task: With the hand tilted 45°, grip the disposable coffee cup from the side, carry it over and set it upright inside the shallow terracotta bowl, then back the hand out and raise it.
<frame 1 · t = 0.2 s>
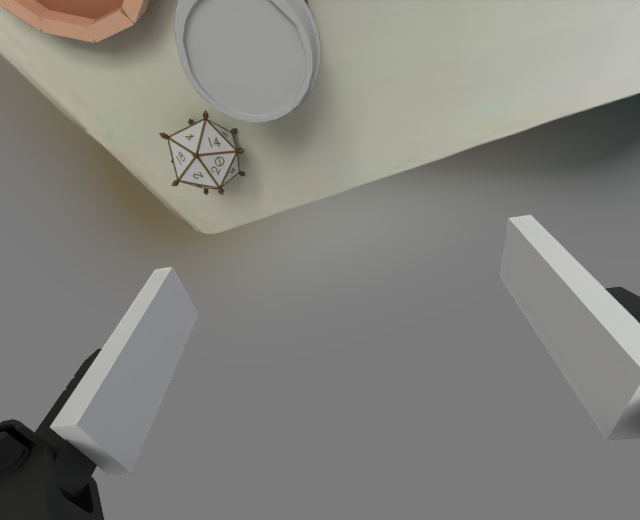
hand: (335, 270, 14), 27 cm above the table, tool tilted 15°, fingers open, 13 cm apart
game die: (214, 134, 40), on the table
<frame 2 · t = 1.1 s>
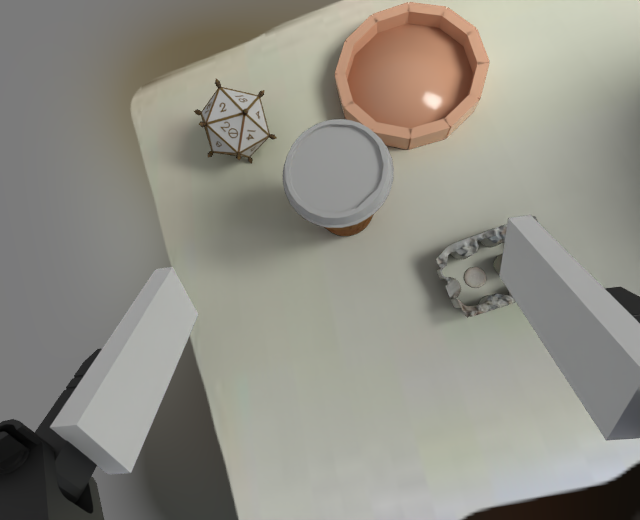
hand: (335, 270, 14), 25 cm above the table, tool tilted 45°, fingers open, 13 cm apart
game die: (248, 142, 43), on the table
terracotta bowl: (407, 82, 41), on the table
disposable coffee cup: (346, 210, 40), on the table
egg carton: (487, 270, 37), on the table
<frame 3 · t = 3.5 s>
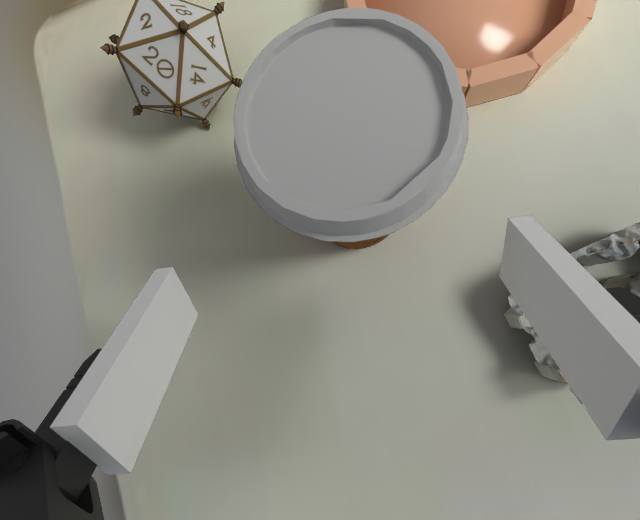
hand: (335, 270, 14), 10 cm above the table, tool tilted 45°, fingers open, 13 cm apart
game die: (205, 97, 28), on the table
terracotta bowl: (458, 3, 26), on the table
disposable coffee cup: (356, 206, 25), on the table
egg carton: (589, 304, 22), on the table
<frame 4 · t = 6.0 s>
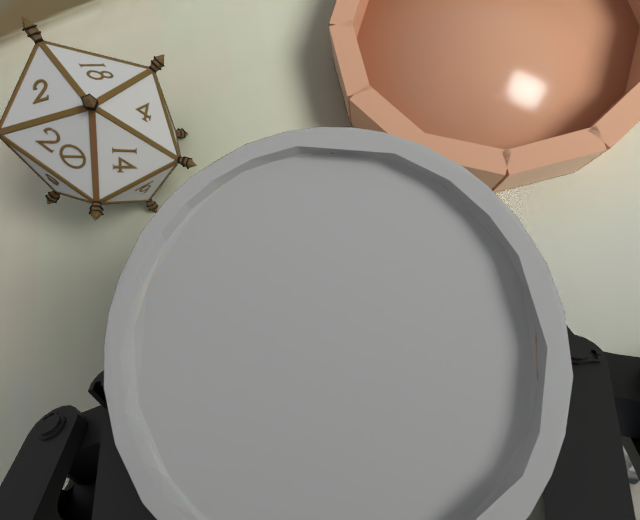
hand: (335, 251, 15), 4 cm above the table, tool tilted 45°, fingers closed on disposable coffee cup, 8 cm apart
game die: (153, 167, 21), on the table
terracotta bowl: (483, 49, 19), on the table
disposable coffee cup: (350, 324, 18), on the table, touching gripper
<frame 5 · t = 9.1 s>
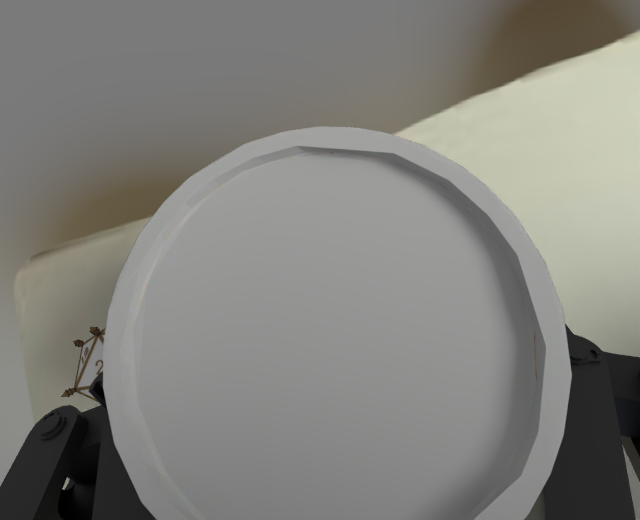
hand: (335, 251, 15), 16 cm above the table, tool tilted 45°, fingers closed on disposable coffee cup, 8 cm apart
game die: (159, 354, 33), on the table
disposable coffee cup: (349, 324, 18), point 12 cm above the table, touching gripper
when the fingers open (6 cm above the table, at t = 12.4 s): disposable coffee cup moves 3 cm, resting on terracotta bowl.
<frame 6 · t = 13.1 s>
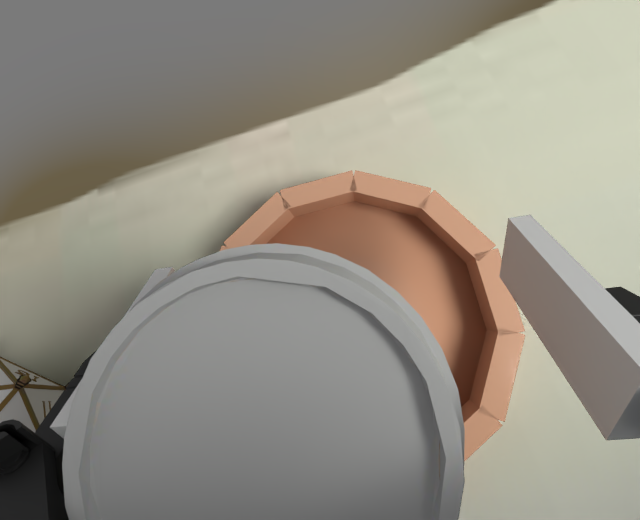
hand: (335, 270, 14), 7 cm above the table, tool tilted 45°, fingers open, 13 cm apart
game die: (49, 410, 22), on the table
terracotta bowl: (352, 323, 20), on the table
disposable coffee cup: (305, 350, 19), point 1 cm above the table, touching gripper, terracotta bowl
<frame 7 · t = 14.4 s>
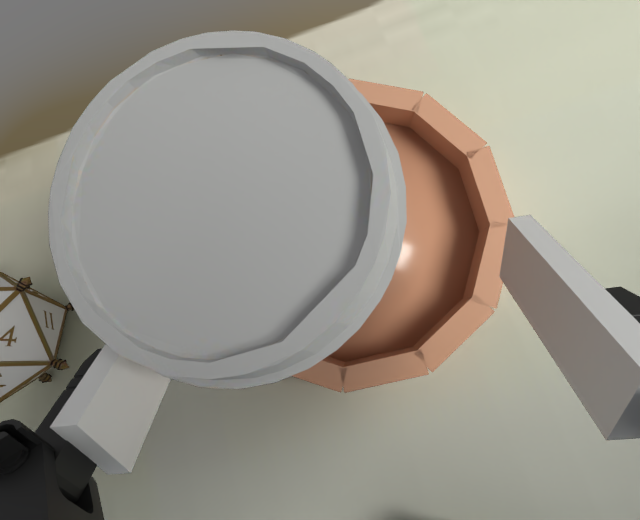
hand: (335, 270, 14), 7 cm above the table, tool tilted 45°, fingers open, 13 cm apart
game die: (50, 333, 23), on the table
terracotta bowl: (347, 235, 21), on the table
disposable coffee cup: (303, 261, 20), point 1 cm above the table, touching terracotta bowl
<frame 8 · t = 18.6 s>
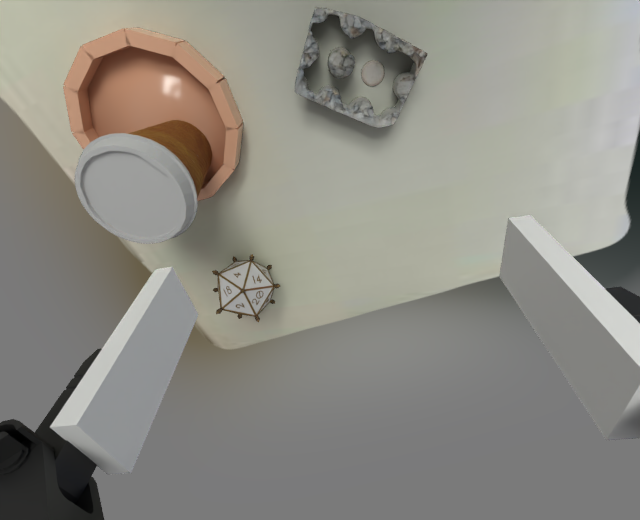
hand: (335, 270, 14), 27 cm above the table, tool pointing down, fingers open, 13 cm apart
game die: (251, 268, 48), on the table
terracotta bowl: (164, 123, 36), on the table
disposable coffee cup: (183, 149, 37), point 1 cm above the table, touching terracotta bowl
egg carton: (355, 68, 33), on the table
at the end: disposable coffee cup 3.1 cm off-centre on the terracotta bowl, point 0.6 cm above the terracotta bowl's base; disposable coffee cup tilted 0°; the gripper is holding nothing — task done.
